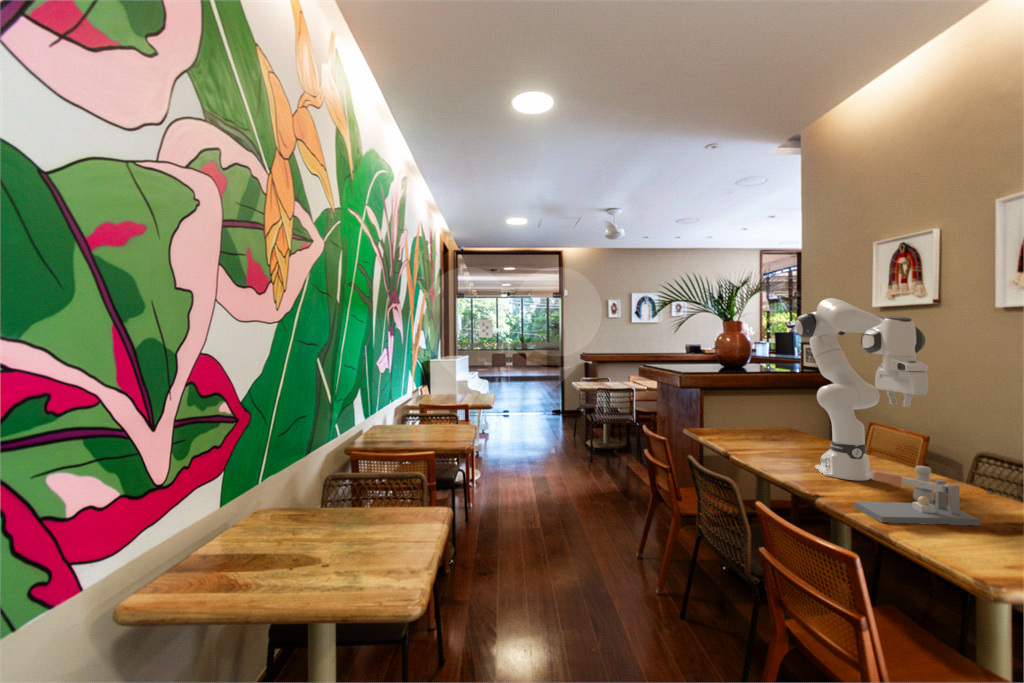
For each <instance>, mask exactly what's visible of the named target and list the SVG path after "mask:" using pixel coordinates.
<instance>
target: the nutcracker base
mask: <svg viewBox="0 0 1024 683" xmlns="http://www.w3.org/2000/svg"><path fill="white" fill-rule="evenodd" d="M934 483H938V484H941V483H945V484H947V480H943V479H935V481H934ZM934 493H935V494H934V497H935V499H934V501H935V503H930V500H929V499H928V498H927V497H925V496H920V497H919V498H918V502H916V501H912V502H890V501H889V502H888V501H887V502H884V501H883V502H881V501H880V502H879V501H854V503H853V505H854V507H853V508H854V509H856V510H858V511H860V512H862V513H863V512H864V513H863V514H865V513H866V514H865V515H867V516H869V517H870V516H871V517H870V518H872V519H874V520H875V521H877V520H878V522H879V521H880V522H879V523H881V522H891V523H890V524H898V523H926V524H925V525H933V524H949V525H948V526H967V525H973V527H976V526H977V527H980V526H981V519H980V518H978V517H976V516H973V515H970V514H968V513H966V512H964V511H962V510H960V509H961V507H960V505H961V504H960V500H961V499H960V486H959V485H958V484H948V494H945V493H943V492H939V491H935V492H934ZM947 503H948V504H947Z"/></svg>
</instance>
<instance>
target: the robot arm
mask: <svg viewBox="0 0 1024 683" xmlns="http://www.w3.org/2000/svg"><path fill="white" fill-rule="evenodd" d="M794 328H795V331H796V333H797V335H798V336H800V337H801V338H805V339H807V338H810V339H809V346H810V351H811V354H812V357H813V359H814V361H815V363H816V366H817V367H818V370H819V372H820V374H821V376H823V378H825V379H827V380H829V381H830V382H831V383H829V384H827V385H823V386H820V388H819V389H818V390H817V393H816V400H817V402H818V404H819V405H820V406H821V408H823V409H824V410H825V411H826V413H828V416H829V419H830V422H831V431H832V432H831V433H832V440H830V441H829V444H830V446H829V449H828V450H827V451H826V452H824V453H823V454H822V455H821V456H820V458H819V461H820V464H815V465H814V468H815V469H816V470H817V469H818V470H817V471H819V472H820V473H821V474H822V473H823V474H822V475H824V476H826V477H829V478H830V477H831V478H832V477H833V478H836V479H842V480H847V481H849V480H850V481H862V482H863V481H869V480H870V479H871V478H868V477H867V476H865V473H866V470H869V469H871V466H870V465H871V464H870V458H869V456H868V455H867V454H866V453H867V444H866V442H865V441H866V440H865V439H866V436H865V434H866V433H865V428H866V427H865V425H864V424H863V422H862V421H861V420H858V419H857V417H856V414H855V410H865V409H869V408H871V407H874V406H877V405H878V404H879V401H880V398H881V395H880V392H879V390H881V391H886V395H887V397H888V400H889V405H895V406H897V405H898V404H899V399H897V397H896V394H897V393H901V394H903V397H904V399H903V400H902V401H901V406H902V407H904V408H910V407H911V405H912V404H911V402H912V400H913V398H914V395H915V396H926V395H927V393H928V391H929V375H928V373H927V372H928V371H929V365H928V364H927V363H924V362H922V361H921V360H919V359H917V354H918V353H919V352H920V351H921V350H922V349H923V348H924V346H925V344H926V337H925V336H926V335H925V334H924V333H923V331H921V330H920V328H918V327H917V326H916V324H915V323H914V320H913V319H912V318H910V317H906V316H889V317H883V316H879V315H877V314H875V313H871V312H868V311H866V310H864V309H861V308H858V307H857V306H855V305H853V304H851V303H849V302H846V301H844V300H842V299H838V298H835V297H834V298H833V297H828V298H825V299H823V300H821V301H820V302H819V303H818V304H817V307H816V311H812V312H805V313H803V314H800V315H799V316H797V317H796V319H795V321H794ZM846 333H861V334H862V335H861V339H860V343H861V347H862V348H863V350H865V352H866V353H868V354H873V355H882V363H880V365H879V366H878V367H877V370H876V371H875V377H874V378H875V379H874V385H873V384H870V383H868V382H867V381H866V380H864V378H862V377H861V376H860V375H859V374H858V373H857V372H856V371H855V370H854V368H853V367H852V366H851V364H850V362H849V360H848V359H847V356H846V355H845V352H844V350H843V348H842V347H841V345H840V344H839V341H838V335H839V336H844V335H845V334H846Z"/></svg>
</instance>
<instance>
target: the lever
mask: <svg viewBox="0 0 1024 683" xmlns="http://www.w3.org/2000/svg"><path fill="white" fill-rule="evenodd" d="M865 476H867V477H868V478H870V479H871V480H873V481H877V482H881V483H886V484H887V483H888V484H891V485H897V486H902V485H903V486H904V485H905V486H908V487H914V488H915V489H917V490H920V491H923V492H928V493H931V492H932V490H933V492H934V491H939V492H943V493H945V494H946V495H948V485H949V484H948V483H946V484H945V483H941V484H938V483H935V482H932V481H931V482H927V481H922V480H917V479H916V478H911V477H906V476H901V475H898V474H896V473H893V472H892V473H891V472H887V471H883V470H877V469H871V468H870V469H869V470H866V473H865Z"/></svg>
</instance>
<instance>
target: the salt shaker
mask: <svg viewBox="0 0 1024 683" xmlns="http://www.w3.org/2000/svg"><path fill="white" fill-rule="evenodd" d="M914 470H915V471H914V472H915V473H917V474H916V478H915V479H917V480H922V481H927V482H932V480H931V478H930V475H931V474H932V468H931V467H929V466H926V465H916V466H915V469H914ZM934 493H935V492H934V490H932V492H931V493H928V492H923V491H920V490H917V489H915V487H914V489H913V492H912V498H913V499H914V502H918V498H919V497H920V496H925V497H927V498H928V499H929V500H930V503H932V504H934V501H935V494H934Z"/></svg>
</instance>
